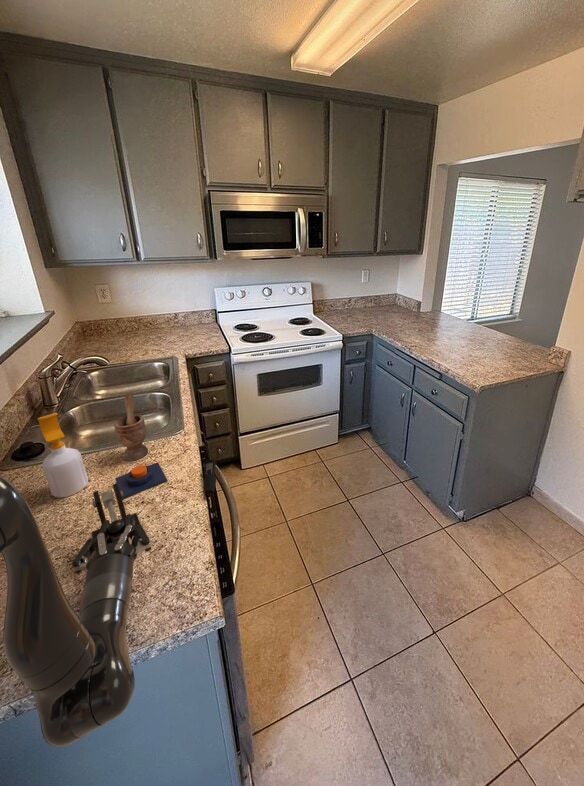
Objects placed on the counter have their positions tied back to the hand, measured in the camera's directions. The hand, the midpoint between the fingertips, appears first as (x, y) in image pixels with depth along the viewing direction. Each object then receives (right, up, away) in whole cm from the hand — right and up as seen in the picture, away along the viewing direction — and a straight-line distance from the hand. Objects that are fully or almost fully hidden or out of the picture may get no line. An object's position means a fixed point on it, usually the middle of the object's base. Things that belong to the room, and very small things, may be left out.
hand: (118, 520), depth 78 cm
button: (-9, +1, +27) cm, 29 cm away
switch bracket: (-5, -9, +9) cm, 14 cm away
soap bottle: (-30, -3, +28) cm, 41 cm away
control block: (-9, -3, +28) cm, 30 cm away
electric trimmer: (+11, -2, +30) cm, 32 cm away
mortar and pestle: (-19, +3, +44) cm, 48 cm away
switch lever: (-2, -1, +2) cm, 3 cm away
